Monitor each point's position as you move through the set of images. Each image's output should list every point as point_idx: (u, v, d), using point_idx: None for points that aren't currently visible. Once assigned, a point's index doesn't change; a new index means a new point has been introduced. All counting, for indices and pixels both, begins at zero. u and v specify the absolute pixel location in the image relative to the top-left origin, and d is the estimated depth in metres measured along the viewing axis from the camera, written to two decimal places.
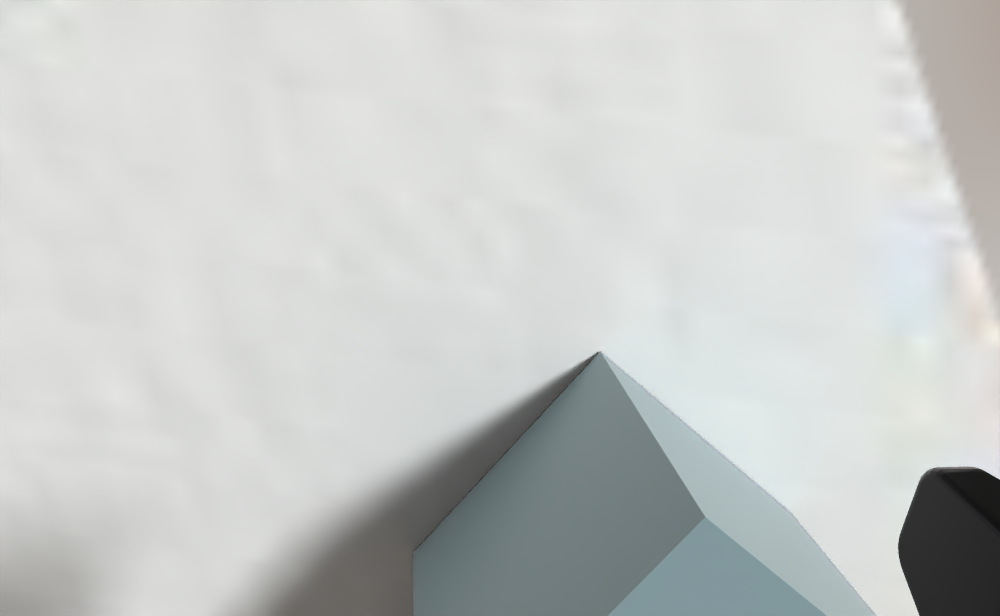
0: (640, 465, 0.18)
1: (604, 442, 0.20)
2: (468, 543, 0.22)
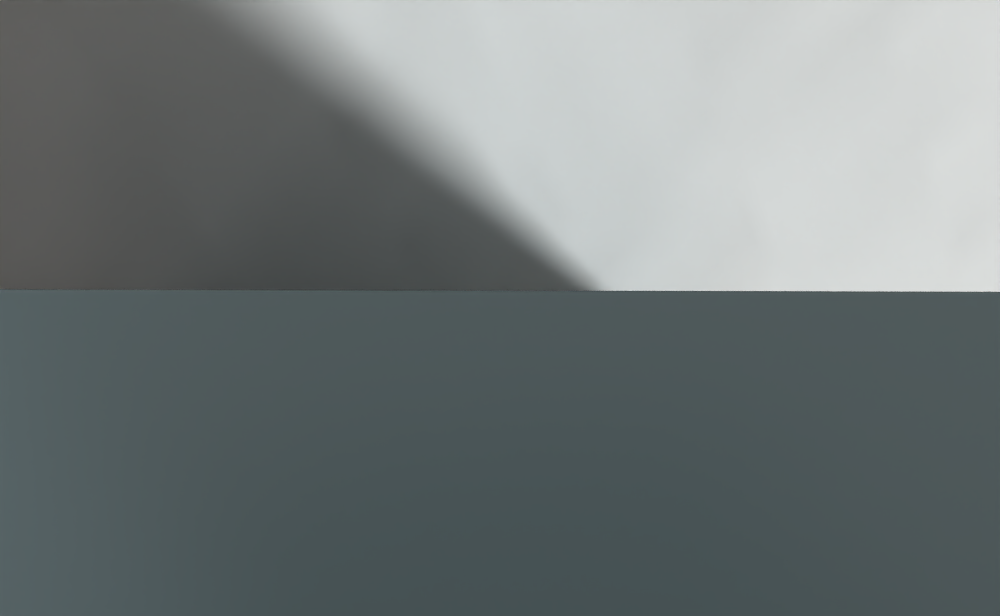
0: None
1: None
2: None
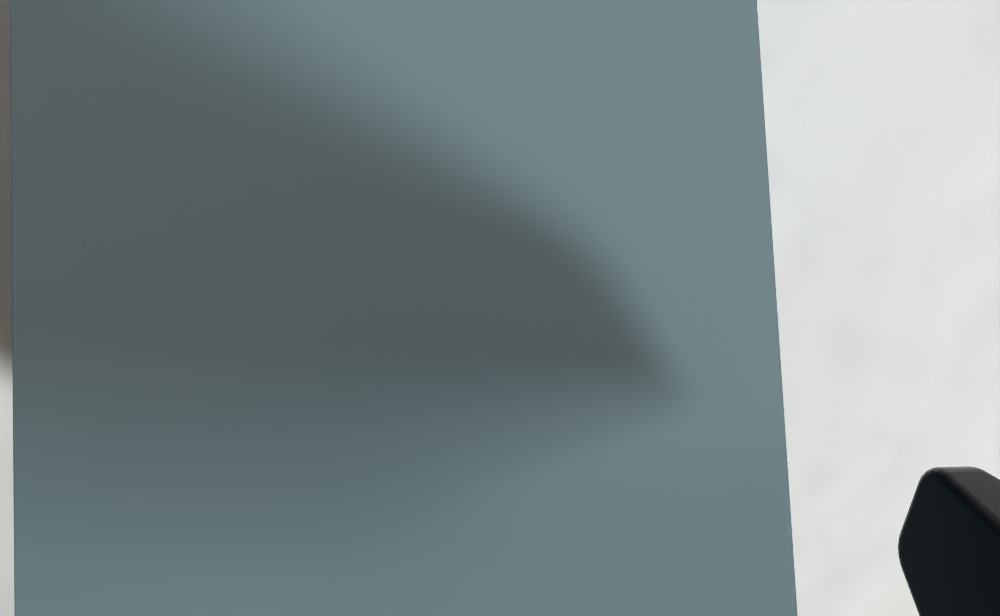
0: None
1: None
2: None
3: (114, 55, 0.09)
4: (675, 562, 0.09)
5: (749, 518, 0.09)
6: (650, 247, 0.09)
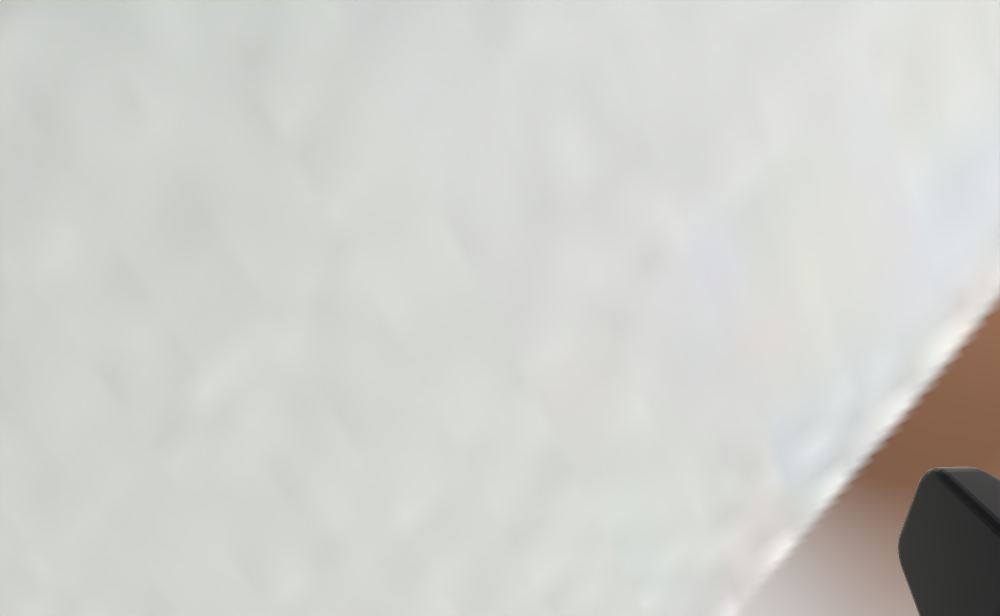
0: None
1: None
2: None
3: None
4: None
5: None
6: None
